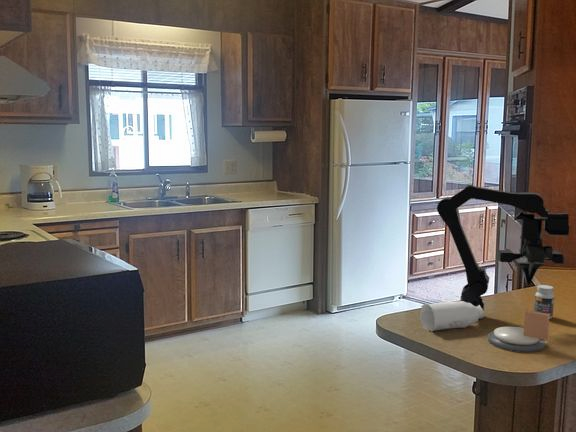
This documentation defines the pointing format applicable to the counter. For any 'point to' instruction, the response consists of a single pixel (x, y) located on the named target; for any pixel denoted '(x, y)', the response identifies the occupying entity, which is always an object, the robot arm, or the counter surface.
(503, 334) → the dial
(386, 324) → the counter surface
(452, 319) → the white bottle
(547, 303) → the pill bottle
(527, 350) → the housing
